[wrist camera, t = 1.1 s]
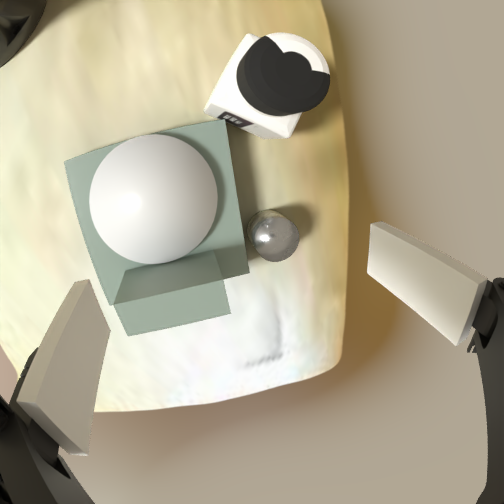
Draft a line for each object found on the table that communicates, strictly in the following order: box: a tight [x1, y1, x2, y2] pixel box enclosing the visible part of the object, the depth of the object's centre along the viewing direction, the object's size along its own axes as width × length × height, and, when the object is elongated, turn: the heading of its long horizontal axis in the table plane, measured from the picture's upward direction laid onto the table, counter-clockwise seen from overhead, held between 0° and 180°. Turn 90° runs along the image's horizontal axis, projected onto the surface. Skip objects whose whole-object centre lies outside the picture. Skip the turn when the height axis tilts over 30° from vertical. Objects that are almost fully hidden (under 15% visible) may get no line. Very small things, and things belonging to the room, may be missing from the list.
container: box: [204, 33, 330, 139], centre depth 21 cm, size 8×8×13 cm
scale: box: [64, 119, 250, 336], centre depth 25 cm, size 18×17×10 cm
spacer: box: [247, 210, 299, 262], centre depth 32 cm, size 5×5×4 cm
